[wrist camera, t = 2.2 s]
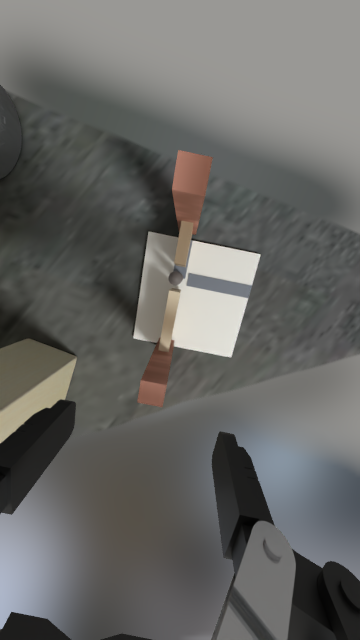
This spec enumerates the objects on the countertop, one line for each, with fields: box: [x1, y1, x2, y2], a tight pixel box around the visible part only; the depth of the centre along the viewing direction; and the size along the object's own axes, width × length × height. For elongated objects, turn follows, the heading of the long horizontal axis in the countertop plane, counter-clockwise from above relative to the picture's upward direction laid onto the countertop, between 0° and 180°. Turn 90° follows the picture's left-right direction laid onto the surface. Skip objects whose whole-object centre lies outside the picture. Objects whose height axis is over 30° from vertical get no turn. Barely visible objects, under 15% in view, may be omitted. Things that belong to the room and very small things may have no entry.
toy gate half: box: [138, 288, 181, 407], centre depth 16 cm, size 8×2×9 cm, turn 169°
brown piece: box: [168, 150, 212, 285], centre depth 15 cm, size 2×7×10 cm, turn 169°
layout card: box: [133, 232, 261, 357], centre depth 21 cm, size 12×12×1 cm
